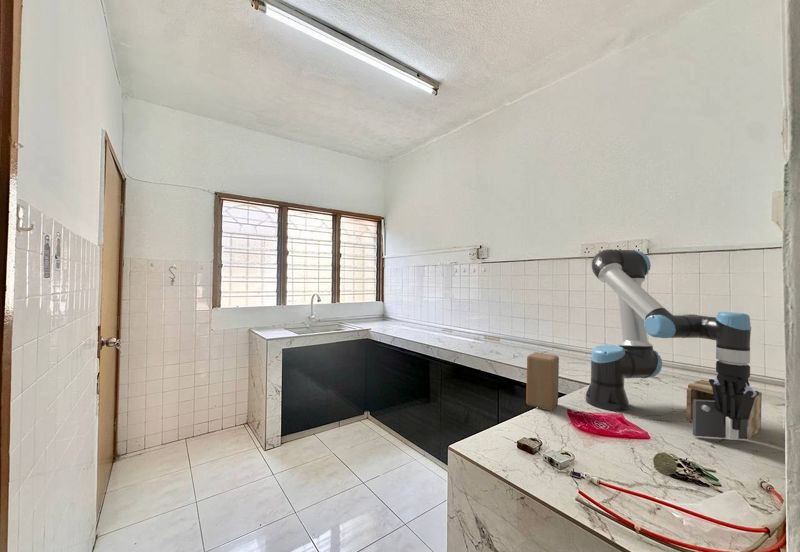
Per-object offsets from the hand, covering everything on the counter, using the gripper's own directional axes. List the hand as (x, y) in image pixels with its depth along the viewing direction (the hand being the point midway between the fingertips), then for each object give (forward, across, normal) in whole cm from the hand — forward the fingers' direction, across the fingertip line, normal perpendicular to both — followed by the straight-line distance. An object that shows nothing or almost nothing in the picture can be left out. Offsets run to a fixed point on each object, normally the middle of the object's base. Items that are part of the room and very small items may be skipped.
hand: (731, 438), depth 103 cm
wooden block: (+3, +34, +44) cm, 55 cm away
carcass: (+2, +15, -13) cm, 20 cm away
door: (+2, +4, -2) cm, 5 cm away
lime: (+3, -13, +33) cm, 35 cm away
